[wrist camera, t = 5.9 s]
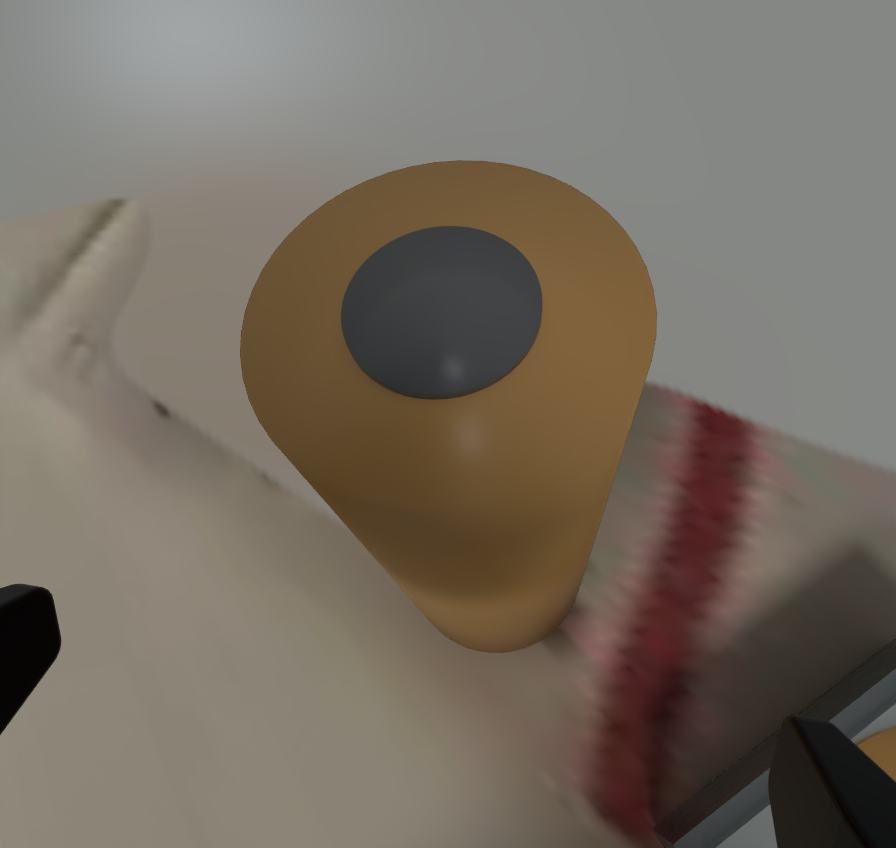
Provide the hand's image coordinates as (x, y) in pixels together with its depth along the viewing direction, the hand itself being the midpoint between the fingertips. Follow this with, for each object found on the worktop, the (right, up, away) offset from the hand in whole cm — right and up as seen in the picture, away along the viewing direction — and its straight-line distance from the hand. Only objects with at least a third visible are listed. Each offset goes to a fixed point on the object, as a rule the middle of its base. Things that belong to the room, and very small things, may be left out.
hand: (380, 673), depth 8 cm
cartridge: (+2, -1, +11) cm, 11 cm away
